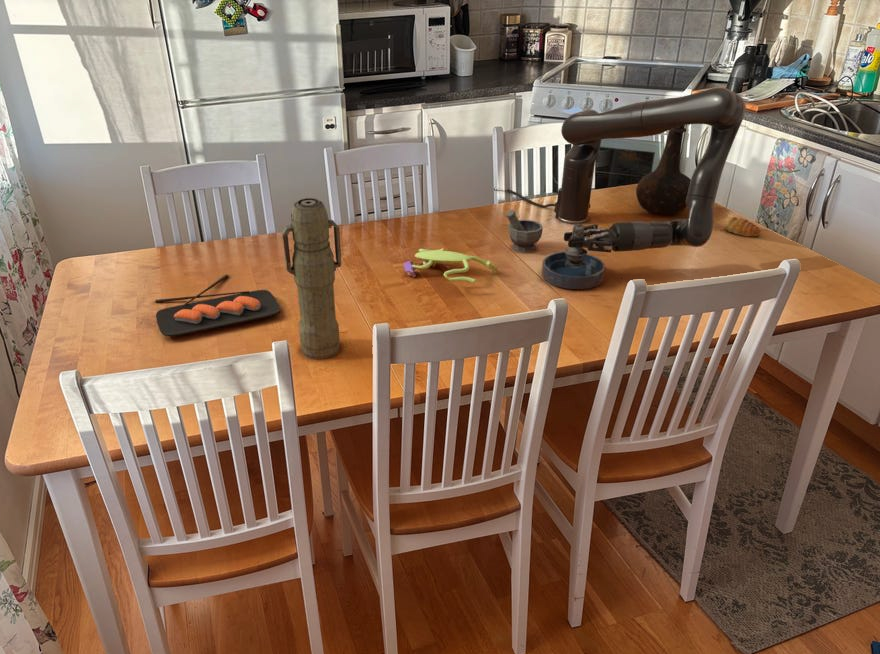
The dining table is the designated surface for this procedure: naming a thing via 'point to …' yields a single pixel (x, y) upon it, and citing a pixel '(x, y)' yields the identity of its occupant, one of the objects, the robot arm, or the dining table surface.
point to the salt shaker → (576, 249)
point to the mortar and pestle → (523, 232)
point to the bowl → (573, 272)
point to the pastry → (742, 227)
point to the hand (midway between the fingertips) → (566, 240)
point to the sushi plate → (215, 311)
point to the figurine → (445, 258)
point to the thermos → (314, 276)
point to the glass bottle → (666, 180)
